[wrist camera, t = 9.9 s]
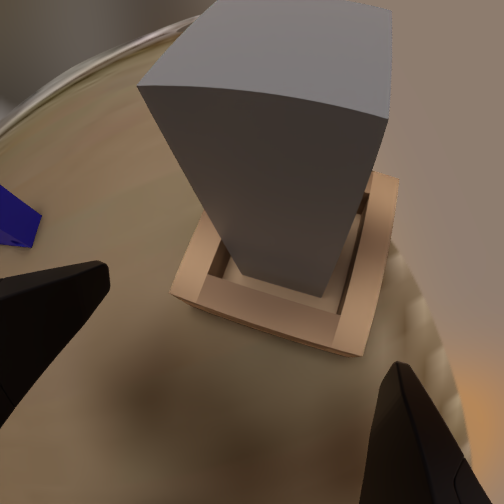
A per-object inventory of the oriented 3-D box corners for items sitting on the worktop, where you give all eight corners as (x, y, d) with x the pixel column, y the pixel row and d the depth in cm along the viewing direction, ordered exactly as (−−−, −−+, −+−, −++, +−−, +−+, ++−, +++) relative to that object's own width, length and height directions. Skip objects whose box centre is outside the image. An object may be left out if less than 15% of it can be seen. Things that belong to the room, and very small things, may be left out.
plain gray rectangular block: (321, 298, 16) (388, 119, 4) (241, 274, 17) (136, 86, 5) (341, 224, 17) (391, 10, 5) (267, 204, 18) (225, -8, 6)
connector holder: (348, 357, 16) (362, 356, 12) (190, 305, 18) (168, 293, 15) (384, 208, 18) (399, 179, 15) (245, 172, 21) (237, 139, 17)
